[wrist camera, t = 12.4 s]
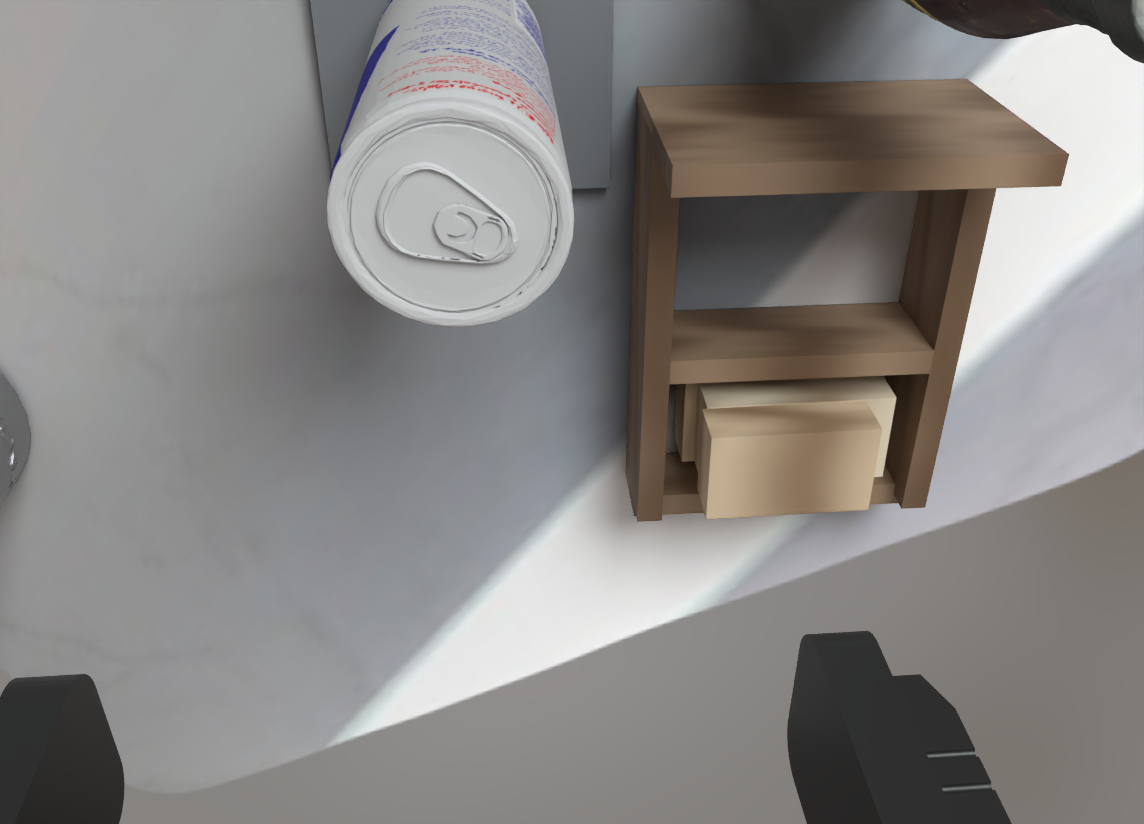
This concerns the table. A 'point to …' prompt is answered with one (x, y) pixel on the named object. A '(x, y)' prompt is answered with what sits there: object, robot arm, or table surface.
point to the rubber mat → (574, 57)
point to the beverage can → (453, 165)
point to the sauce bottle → (1042, 18)
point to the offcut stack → (785, 443)
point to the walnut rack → (819, 332)
